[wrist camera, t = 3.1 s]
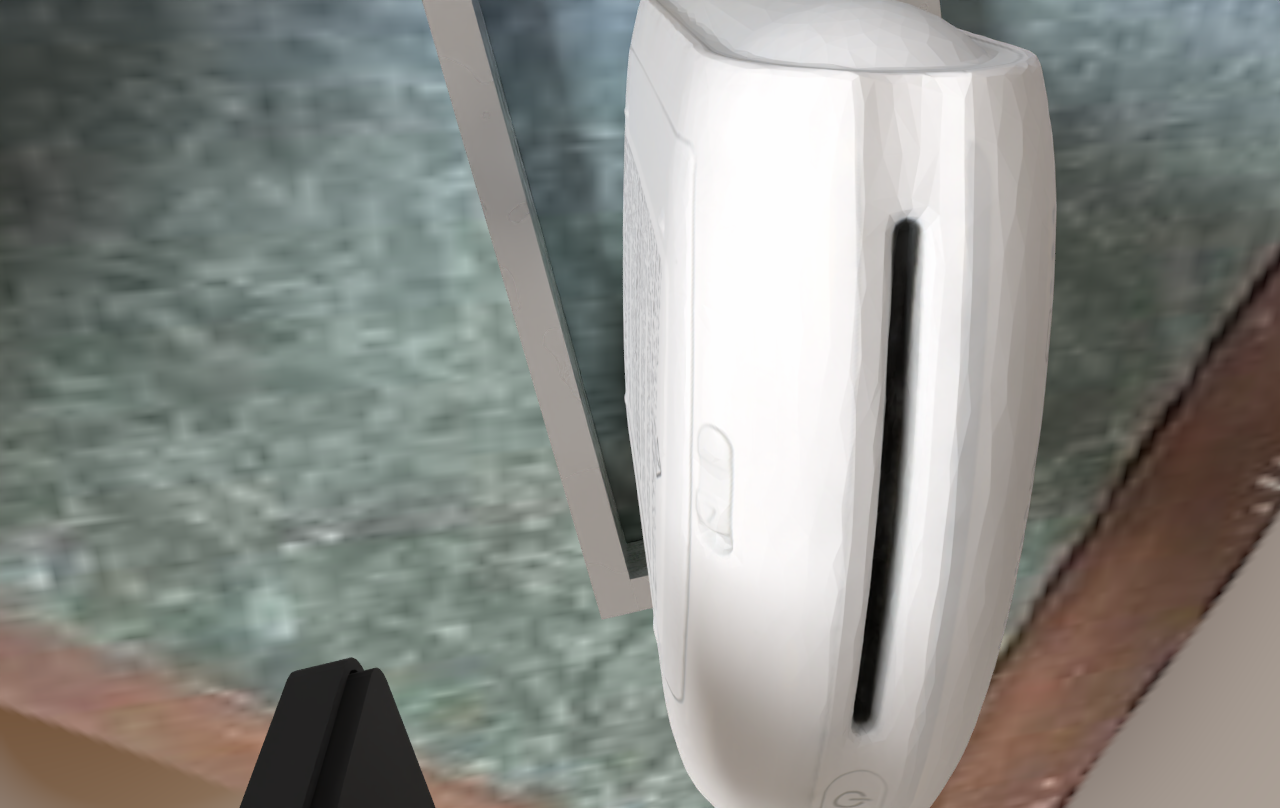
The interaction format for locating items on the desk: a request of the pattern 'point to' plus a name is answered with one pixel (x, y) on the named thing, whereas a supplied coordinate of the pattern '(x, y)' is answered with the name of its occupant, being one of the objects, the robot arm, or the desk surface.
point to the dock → (540, 299)
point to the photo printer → (832, 382)
